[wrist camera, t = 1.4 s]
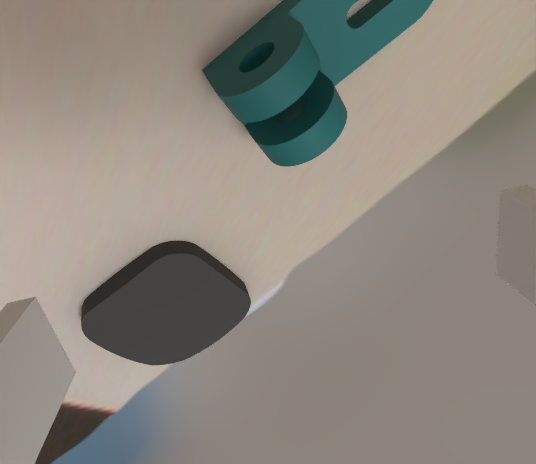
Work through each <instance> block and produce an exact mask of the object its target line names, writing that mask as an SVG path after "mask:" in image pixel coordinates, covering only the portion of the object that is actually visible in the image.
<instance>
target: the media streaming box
mask: <svg viewBox="0 0 536 464" xmlns="http://www.w3.org/2000/svg"><path fill="white" fill-rule="evenodd" d="M250 304H251V300H250V297H249V294H248V292H247V289H246V286H245V284H244V282H243V281H241V280H240V279H239V278H238V277H237V276H236V275H235V274H234V273H233V272H231V271H230V270H229V269H228V268H227V267H225V266H224V265H223V264H222V263H220V262H219V261H218V260H217V259H215V258H214V257H213V256H211V255H210V254H208V253H207V252H206V251H204V250H203V249H201V248H200V247H198V246H197V245H195V244H193V243H190V242H185V241H170V242H165V243H162V244H159V245H156V246H154V247H152V248H151V249H149V250H148V251H146V252H145V253H143V254H142V255H141V256H139V257H138V258H136V259H135V260H134V261H132V262H131V263H129V264H128V265H127V266H125V267H124V268H123V269H121V270H120V271H119V272H118V273H116V274H115V275H114V276H112V277H111V278H110V279H109V280H107V281H106V282H105V283H104V284H102V285H101V286H100V287H99V288H98V289H96V290H95V291H94V292H93V293H92V294H91V295H89V296H88V297H87V298H86V300H85V301H84V303H83V306H82V320H81V327H82V330H83V333H84V334H85V336H86V337H87V338H88V339H89V340H90V341H92V342H94V343H95V344H97V345H99V346H100V347H102V348H104V349H106V350H108V351H110V352H112V353H114V354H116V355H119V356H121V357H124V358H126V359H129V360H132V361H136V362H139V363H143V364H148V365H164V364H170V363H175V362H179V361H182V360H185V359H187V358H189V357H191V356H193V355H195V354H197V353H199V352H201V351H202V350H204V349H205V348H207V347H209V346H210V345H212V344H213V343H215V342H216V341H218V340H219V339H220V338H222V337H223V336H224V335H225V334H227V333H228V332H229V331H230V330H232V329H233V328H234V327H235V326H236V325H237V324H238V323H239V322H240V321H242V320H243V318H244V317H245V316H246V314H247V312H248V311H249V308H250Z"/></svg>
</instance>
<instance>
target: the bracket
mask: <svg viewBox="0 0 536 464" xmlns="http://www.w3.org/2000/svg"><path fill="white" fill-rule="evenodd" d="M357 1H358V0H283V1H282V2H281V3H280V4H279V5H278V6H276V7H275V8H274V9H273V10H272V11H271V12H269V13H268V14H267V15H266V16H265V17H264V18H262V19H261V20H260V21H259V22H258V23H257V24H255V25H254V26H253V27H252V28H251V29H250V30H248V31H247V32H246V33H245V34H244V35H243V36H241V37H240V38H239V39H238V40H237V41H235V42H234V43H233V44H232V45H231V46H230V47H228V48H227V49H226V50H225V51H224V52H223V53H221V54H220V55H219V56H218V57H217V58H216V59H214V60H213V61H212V62H211V63H210V64H209V65H207V66H206V67H205V68H204V69H203V70H202V71H203V72H204V74H205V76H206V77H207V79H208V81H209V82H210V84H211V85H212V87H213V89H214V90H215V92H216V93H217V94H218V96H219V97H220V98H221V99H222V101H223V102H224V103H225V104H226V106H227V107H228V108H229V109H230V111H231V112H232V113H233V114H234V116H235V117H236V118H237V119H238V120H240V121H241V122H242V123H243V124H244V126H245V127H246V129H247V130H248V132H249V133H250V135H251V136H252V138H253V139H254V140H255V142H256V143H257V144H258V145H259V147H260V148H261V149H262V150H263V152H264V153H265V154H266V155H267V157H268V158H269V159H270V160H271V161H272V162H273V163H275V164H277V165H280V166H295V165H299V164H302V163H305V162H308V161H310V160H312V159H314V158H315V157H317V156H319V155H320V154H321V153H323V152H324V151H325V150H327V149H328V148H329V147H330V146H331V145H332V144H333V143H334V142H335V141H336V139H337V138H338V137H339V135H340V134H341V132H342V130H343V128H344V126H345V124H346V120H347V111H346V108H345V105H344V104H343V102H342V100H341V98H340V96H339V94H338V92H337V90H336V88H335V85H337V84H338V83H339V82H340V81H342V80H343V79H344V78H345V77H347V76H348V75H349V74H350V73H352V72H353V71H354V70H356V69H357V68H358V67H359V66H361V65H362V64H363V63H364V62H366V61H367V60H368V59H369V58H371V57H372V56H373V55H374V54H376V53H377V52H378V51H380V50H381V49H382V48H383V47H385V46H386V45H387V44H388V43H390V42H391V41H392V40H393V39H395V38H396V37H397V36H398V35H400V34H401V33H402V32H404V31H405V30H406V29H407V28H409V27H410V26H411V25H412V24H414V23H415V22H416V21H417V20H418V19H419V18H420V17H421V16H422V15H423V14H424V13H425V12H426V10H427V9H428V8H429V6H430V5H431V3H432V1H433V0H371V1H370V2H369V3H368V4H367V5H365V6H364V7H363V8H362V9H360V10H359V11H358V12H357V13H356V14H354V15H353V16H352V17H351V18H349V19H348V20H347V21H346V16H347V12H348V10H349V8H350V7H351V6H352V5H353V4H354V3H355V2H357Z"/></svg>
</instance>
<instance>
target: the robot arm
mask: <svg viewBox="0 0 536 464" xmlns="http://www.w3.org/2000/svg"><path fill="white" fill-rule="evenodd" d="M495 274H496V275H497V276H499V277H500V278H501V279H503V280H504V281H505V282H506V283H508V284H509V285H510V286H512V287H513V288H514V289H515V290H517V291H518V292H519V293H521V294H522V295H523V296H524V297H526V298H527V299H528V300H529V301H531V302H532V303H533V304H535V305H536V188H533V187H531V186H528V185H524V186H519V187H515V188H511V189H506V190H502V191H500V205H499V221H498V238H497V254H496V271H495ZM75 373H76V371H75V369H74V367H73V366H72V364H71V362H70V360H69V358H68V356H67V354H66V352H65V351H64V349H63V347H62V345H61V343H60V341H59V339H58V338H57V336H56V334H55V332H54V330H53V328H52V326H51V324H50V323H49V321H48V319H47V317H46V315H45V313H44V311H43V310H42V308H41V306H40V304H39V302H38V300H37V298H36V297H33V298H28V299H24V300H19V301H15V302H11V303H7V305H6V306H5V307H4V308H3V309H2V310H1V312H0V464H34V463H35V461H36V459H37V457H38V454H39V452H40V450H41V448H42V446H43V443H44V441H45V439H46V437H47V435H48V432H49V430H50V428H51V426H52V424H53V421H54V419H55V417H56V415H57V413H58V410H59V408H60V406H61V404H62V402H63V399H64V397H65V395H66V393H67V391H68V388H69V386H70V384H71V382H72V379H73V377H74V375H75Z"/></svg>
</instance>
